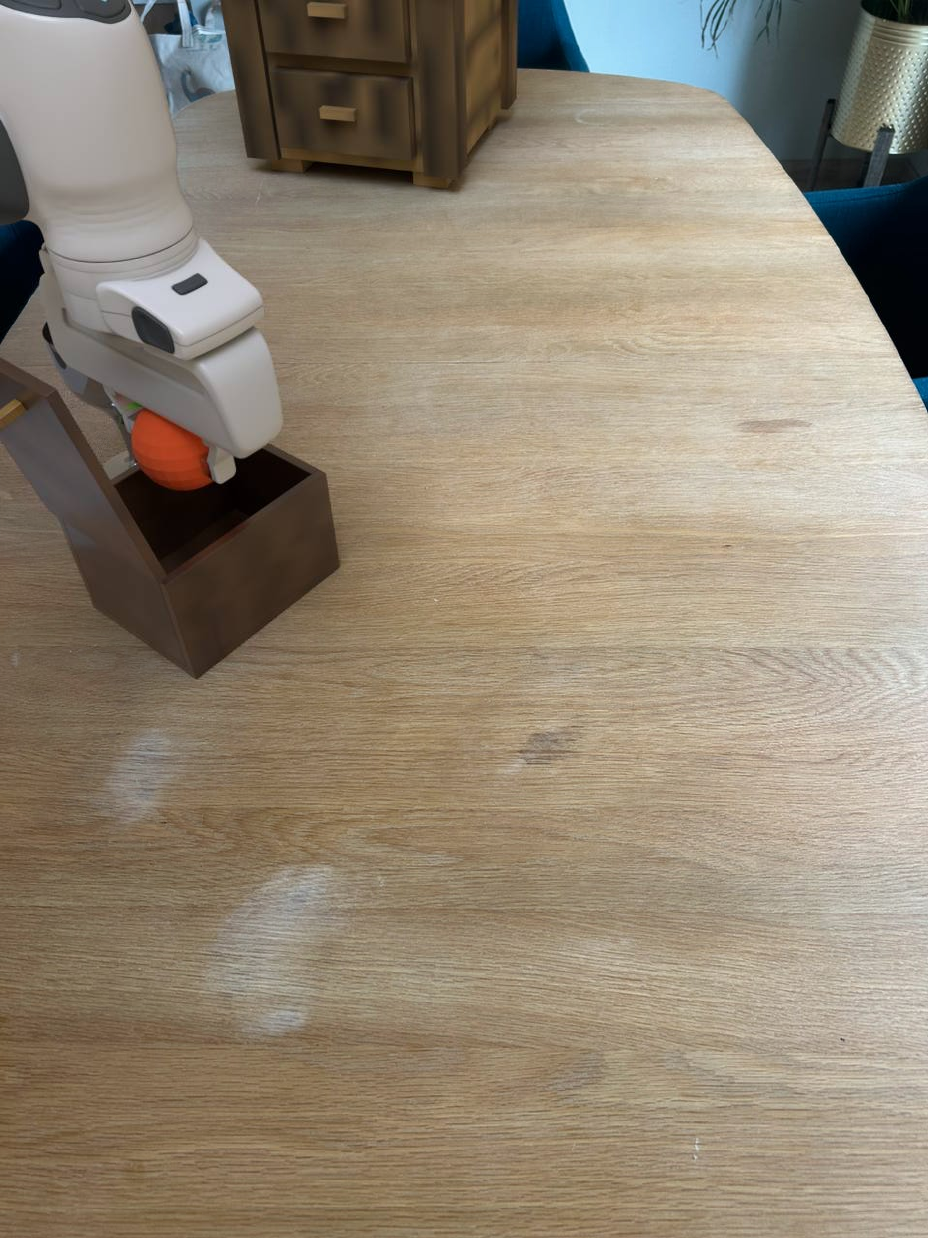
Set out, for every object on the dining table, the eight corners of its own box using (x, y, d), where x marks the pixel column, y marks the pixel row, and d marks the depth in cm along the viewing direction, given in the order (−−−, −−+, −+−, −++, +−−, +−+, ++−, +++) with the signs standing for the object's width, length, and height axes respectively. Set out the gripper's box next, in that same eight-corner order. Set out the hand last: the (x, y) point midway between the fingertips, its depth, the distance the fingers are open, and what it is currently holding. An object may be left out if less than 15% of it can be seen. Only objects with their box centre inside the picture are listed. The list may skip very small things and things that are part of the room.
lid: (-69, 317, 60) (-137, 363, 58) (56, 388, 54) (-15, 442, 52) (57, 504, 73) (5, 547, 71) (168, 577, 68) (114, 625, 66)
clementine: (115, 504, 72) (87, 422, 67) (151, 447, 77) (128, 366, 72) (221, 514, 71) (201, 431, 66) (251, 456, 76) (234, 375, 71)
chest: (237, 507, 89) (215, 414, 82) (340, 566, 83) (326, 472, 76) (93, 606, 80) (55, 512, 73) (196, 679, 75) (165, 585, 68)
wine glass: (141, 435, 97) (97, 291, 86) (199, 463, 93) (161, 316, 83) (76, 477, 92) (21, 331, 81) (135, 508, 89) (85, 360, 78)
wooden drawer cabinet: (534, 110, 154) (542, -155, 130) (469, 206, 131) (464, -96, 107) (324, 92, 161) (295, -162, 138) (227, 179, 138) (173, -108, 115)
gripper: (-7, 246, 65) (59, 423, 75) (200, 347, 56) (244, 533, 66) (73, 212, 69) (126, 386, 79) (281, 302, 59) (311, 485, 69)
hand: (181, 454), depth 72 cm, fingers closed on clementine, 7 cm apart
